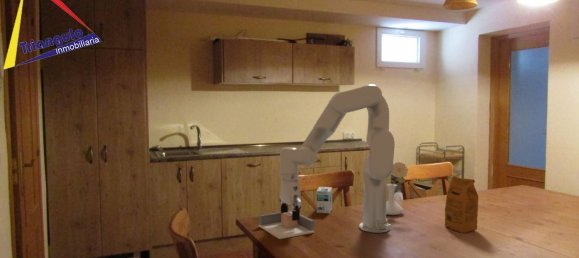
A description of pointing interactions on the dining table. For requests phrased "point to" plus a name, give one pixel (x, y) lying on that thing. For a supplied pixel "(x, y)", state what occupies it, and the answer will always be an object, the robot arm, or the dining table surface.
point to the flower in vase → (392, 206)
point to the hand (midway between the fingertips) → (290, 217)
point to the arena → (275, 228)
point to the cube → (288, 220)
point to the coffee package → (461, 205)
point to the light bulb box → (324, 199)
